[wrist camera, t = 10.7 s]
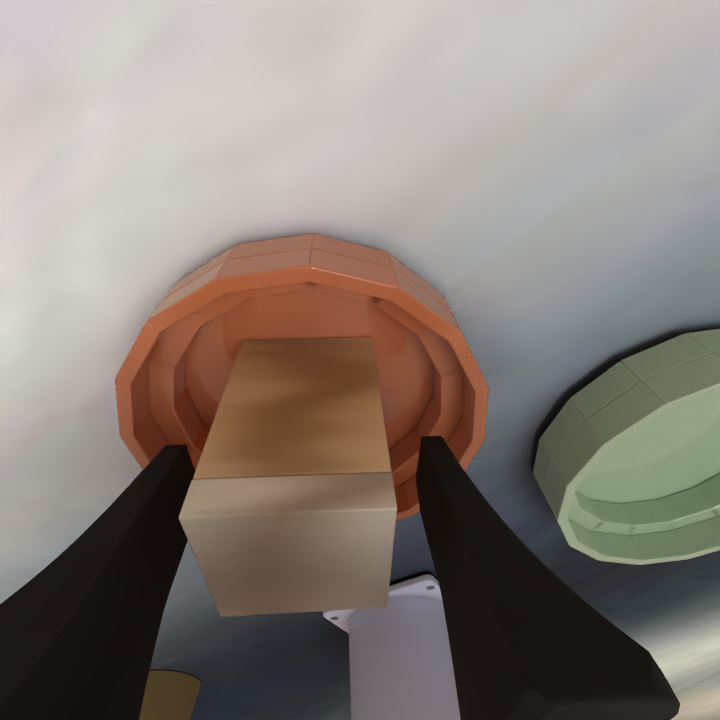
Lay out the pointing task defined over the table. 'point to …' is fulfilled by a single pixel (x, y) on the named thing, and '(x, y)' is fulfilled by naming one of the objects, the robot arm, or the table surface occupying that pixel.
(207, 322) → the terracotta bowl
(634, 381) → the celadon bowl
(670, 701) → the robot arm
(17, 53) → the table surface
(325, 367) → the box
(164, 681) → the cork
